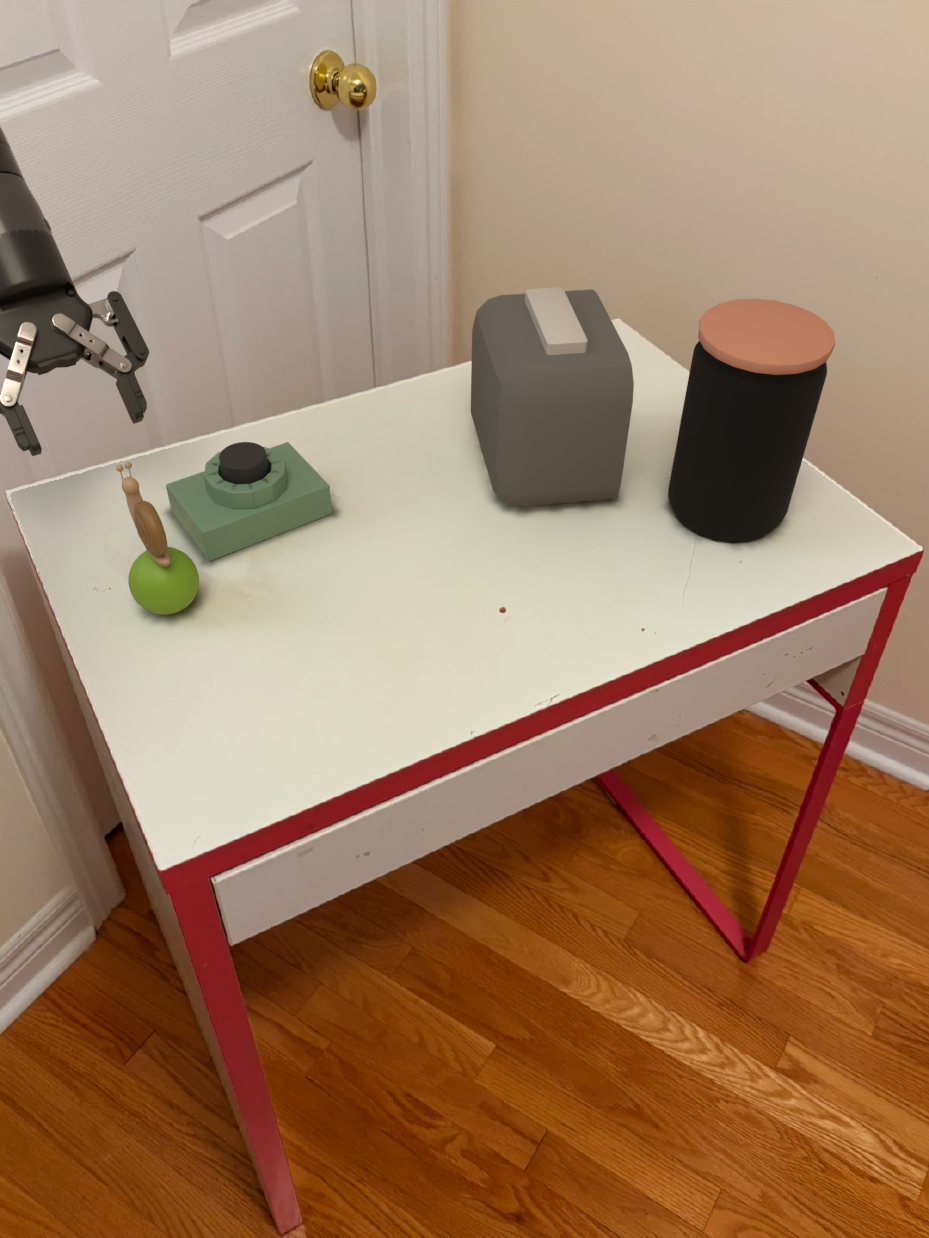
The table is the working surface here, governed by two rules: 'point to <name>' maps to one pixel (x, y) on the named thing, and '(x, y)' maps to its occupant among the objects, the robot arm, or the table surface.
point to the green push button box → (249, 503)
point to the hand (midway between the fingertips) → (88, 436)
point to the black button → (243, 463)
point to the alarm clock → (550, 396)
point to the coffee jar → (747, 417)
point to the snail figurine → (157, 559)
